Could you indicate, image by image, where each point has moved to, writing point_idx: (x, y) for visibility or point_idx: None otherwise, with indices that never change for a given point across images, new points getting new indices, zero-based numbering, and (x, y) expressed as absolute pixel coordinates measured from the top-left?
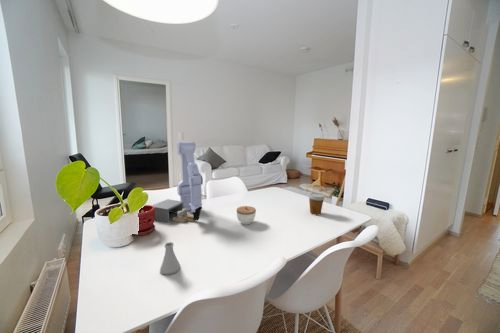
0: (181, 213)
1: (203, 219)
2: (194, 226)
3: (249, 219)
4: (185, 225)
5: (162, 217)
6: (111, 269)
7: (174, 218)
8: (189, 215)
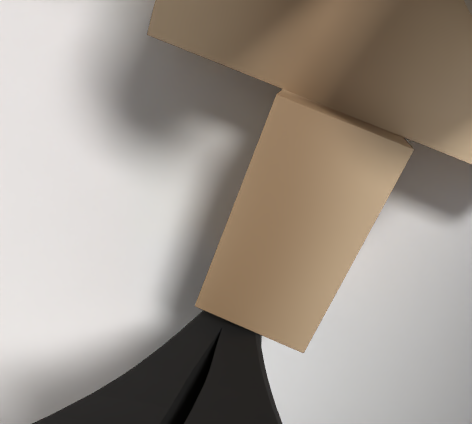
0: None
1: (348, 419)
2: (36, 299)
3: None
4: (41, 131)
5: None
6: None
7: None
8: (340, 184)
